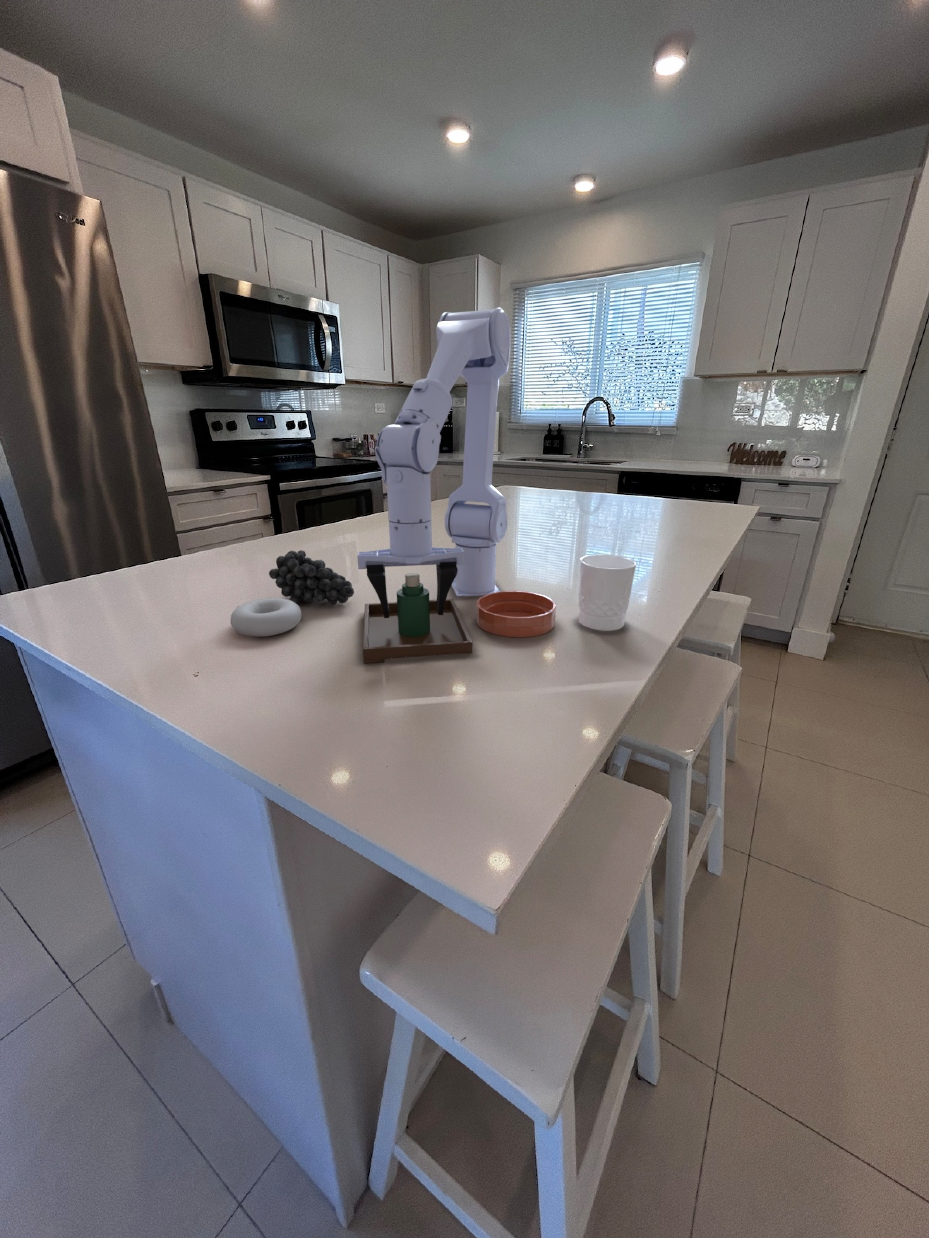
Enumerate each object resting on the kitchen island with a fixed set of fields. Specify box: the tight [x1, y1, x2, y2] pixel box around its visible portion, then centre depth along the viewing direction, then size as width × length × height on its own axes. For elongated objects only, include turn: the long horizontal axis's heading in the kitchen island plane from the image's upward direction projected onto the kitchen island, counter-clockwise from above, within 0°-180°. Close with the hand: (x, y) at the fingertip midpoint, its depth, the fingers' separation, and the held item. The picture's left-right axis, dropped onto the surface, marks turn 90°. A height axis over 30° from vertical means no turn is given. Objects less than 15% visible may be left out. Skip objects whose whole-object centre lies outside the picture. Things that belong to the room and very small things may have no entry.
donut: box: [230, 597, 302, 638], centre depth 76 cm, size 10×4×10 cm
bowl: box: [475, 590, 557, 638], centre depth 77 cm, size 12×12×4 cm
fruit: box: [268, 550, 355, 606], centre depth 85 cm, size 9×8×15 cm
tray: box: [362, 598, 474, 664], centre depth 74 cm, size 17×14×2 cm
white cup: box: [578, 554, 637, 632], centre depth 76 cm, size 8×8×10 cm
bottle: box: [396, 572, 430, 637], centre depth 72 cm, size 5×5×8 cm
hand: (413, 614), depth 73 cm, fingers open, 7 cm apart
